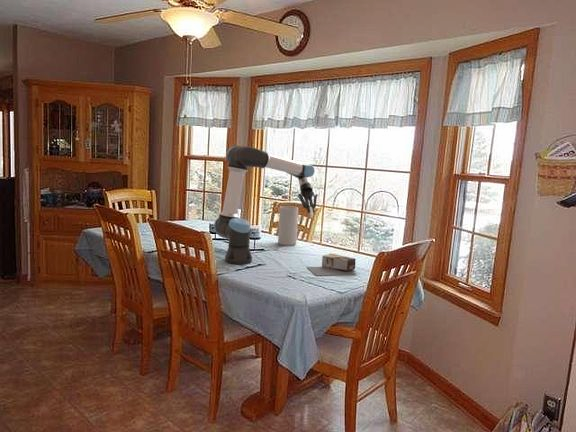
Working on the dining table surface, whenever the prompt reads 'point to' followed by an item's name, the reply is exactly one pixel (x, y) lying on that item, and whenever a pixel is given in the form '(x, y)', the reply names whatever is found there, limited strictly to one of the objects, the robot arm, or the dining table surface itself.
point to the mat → (328, 271)
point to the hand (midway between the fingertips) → (311, 216)
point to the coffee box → (338, 262)
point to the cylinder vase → (288, 225)
